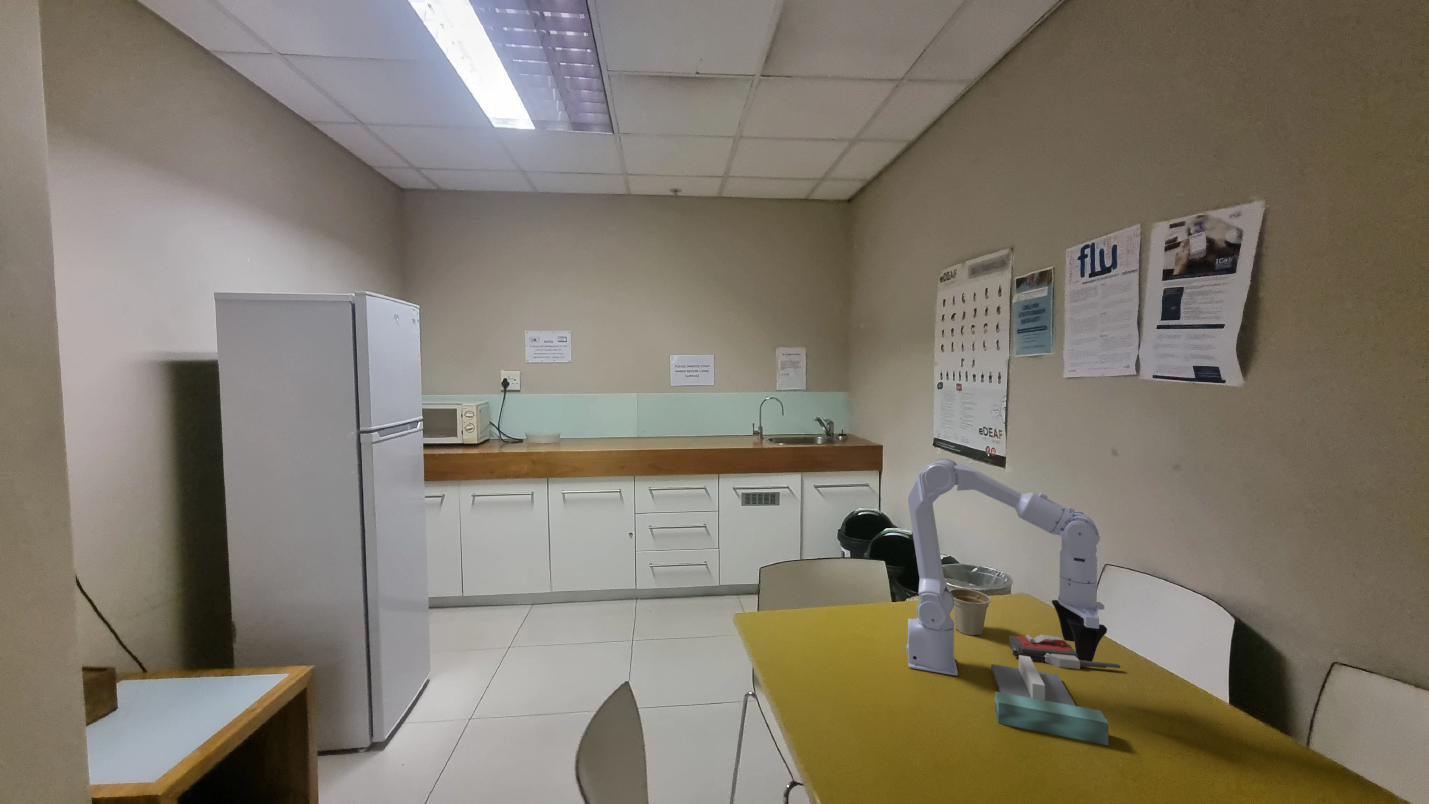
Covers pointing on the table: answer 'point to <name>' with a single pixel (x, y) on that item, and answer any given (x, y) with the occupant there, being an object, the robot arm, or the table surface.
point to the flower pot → (969, 610)
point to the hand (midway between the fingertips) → (1077, 649)
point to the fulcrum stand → (1030, 682)
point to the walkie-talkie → (1051, 651)
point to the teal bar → (1051, 718)
